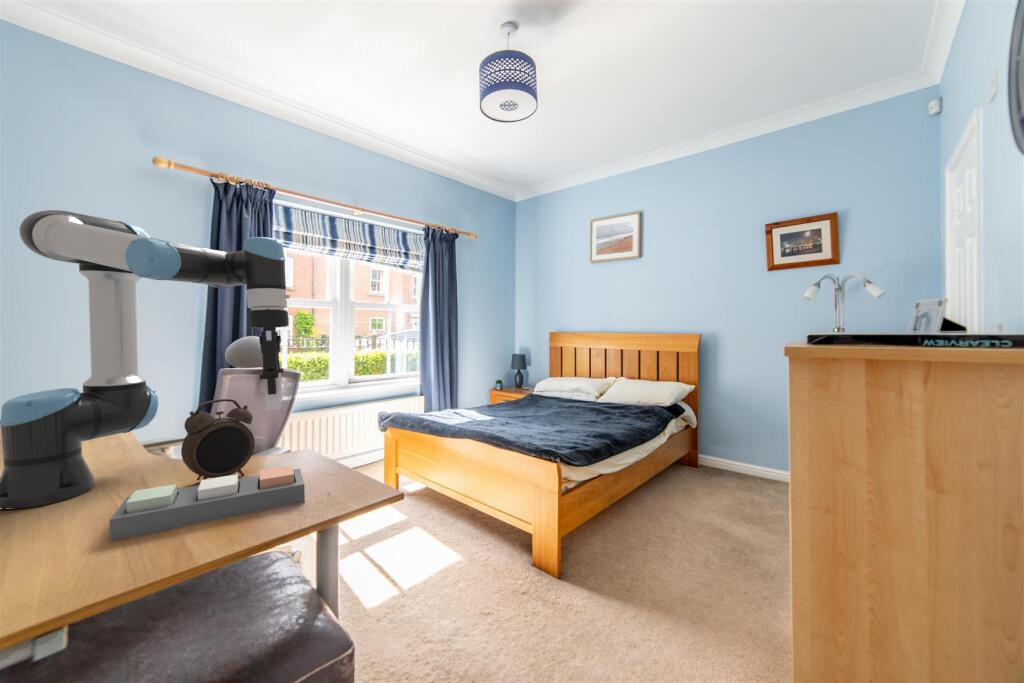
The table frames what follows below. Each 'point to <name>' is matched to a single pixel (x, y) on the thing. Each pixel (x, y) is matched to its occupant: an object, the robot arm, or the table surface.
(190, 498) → the keypad
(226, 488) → the key offwhite
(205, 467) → the alarm clock
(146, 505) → the key sage
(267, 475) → the key terracotta
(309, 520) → the table surface
